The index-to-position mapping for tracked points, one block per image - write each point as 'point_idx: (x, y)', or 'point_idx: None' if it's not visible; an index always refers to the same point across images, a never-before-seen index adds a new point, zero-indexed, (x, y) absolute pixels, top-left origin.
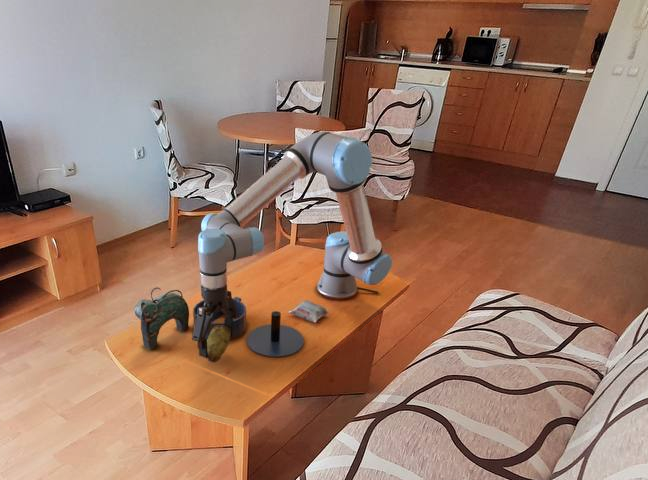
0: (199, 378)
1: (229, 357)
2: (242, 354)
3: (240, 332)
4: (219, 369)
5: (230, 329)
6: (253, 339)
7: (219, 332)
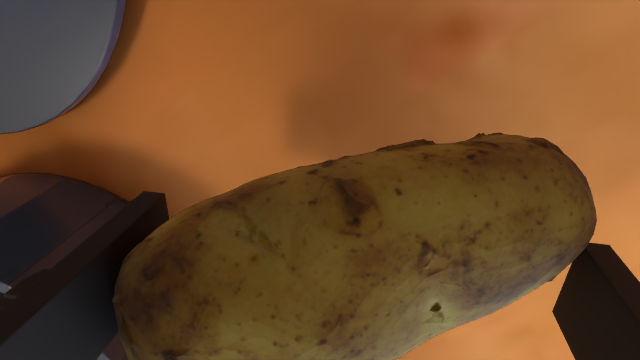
0: (607, 183)
1: (284, 122)
2: (201, 57)
3: (40, 186)
4: (446, 113)
5: (113, 257)
6: (25, 68)
7: (299, 352)
